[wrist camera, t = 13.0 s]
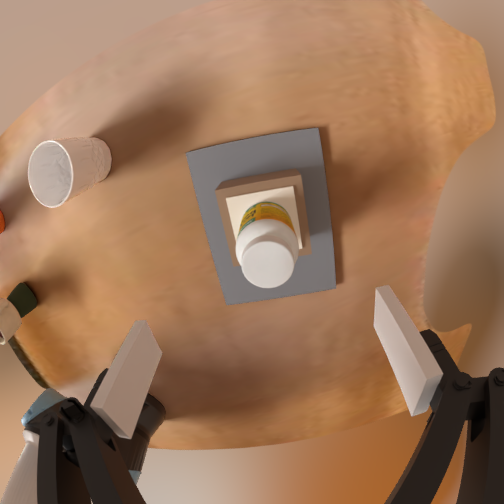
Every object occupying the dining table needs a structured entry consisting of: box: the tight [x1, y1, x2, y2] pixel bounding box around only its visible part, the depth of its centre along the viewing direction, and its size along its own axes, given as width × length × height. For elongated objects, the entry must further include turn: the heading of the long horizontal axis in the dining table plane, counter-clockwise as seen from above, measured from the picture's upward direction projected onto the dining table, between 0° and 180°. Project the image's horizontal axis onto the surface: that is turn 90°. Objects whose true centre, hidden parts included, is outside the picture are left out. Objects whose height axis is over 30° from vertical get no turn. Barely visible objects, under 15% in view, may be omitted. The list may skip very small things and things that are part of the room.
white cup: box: [28, 137, 112, 208], centre depth 29 cm, size 8×8×10 cm
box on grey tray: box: [186, 128, 336, 305], centre depth 33 cm, size 22×16×6 cm
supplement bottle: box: [236, 201, 299, 288], centre depth 25 cm, size 5×5×10 cm
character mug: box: [0, 283, 37, 345], centre depth 38 cm, size 11×7×13 cm, turn 141°
